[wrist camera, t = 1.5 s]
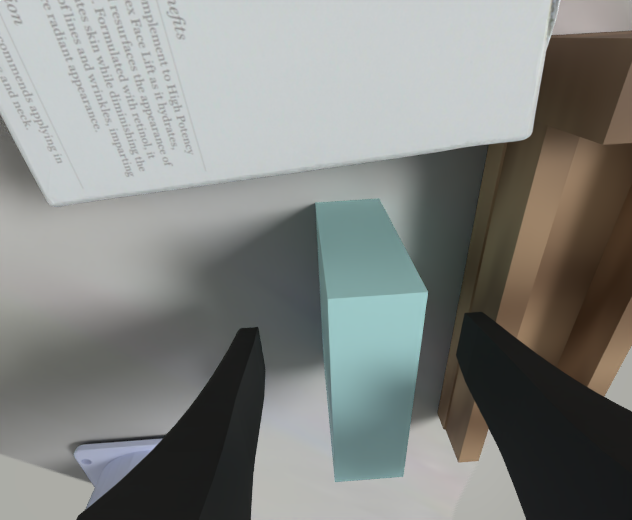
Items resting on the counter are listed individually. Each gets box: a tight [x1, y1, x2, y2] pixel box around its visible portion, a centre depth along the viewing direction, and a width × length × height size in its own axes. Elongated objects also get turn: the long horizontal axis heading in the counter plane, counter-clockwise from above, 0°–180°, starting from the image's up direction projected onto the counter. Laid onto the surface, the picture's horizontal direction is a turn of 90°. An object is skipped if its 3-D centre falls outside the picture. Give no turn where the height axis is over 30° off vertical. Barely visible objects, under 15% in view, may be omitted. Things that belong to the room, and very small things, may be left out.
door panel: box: [315, 199, 428, 482], centre depth 13 cm, size 8×2×6 cm, turn 3°
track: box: [438, 31, 632, 462], centre depth 14 cm, size 18×6×5 cm, turn 3°
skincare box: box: [0, 0, 560, 207], centre depth 9 cm, size 6×4×12 cm
